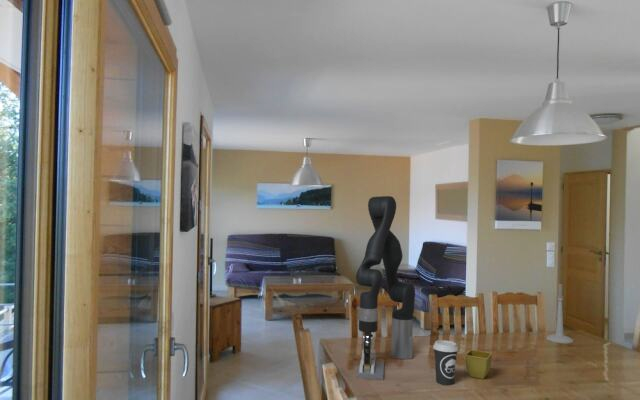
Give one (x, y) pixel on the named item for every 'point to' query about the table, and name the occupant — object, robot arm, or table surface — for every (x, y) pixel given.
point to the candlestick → (559, 322)
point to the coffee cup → (445, 361)
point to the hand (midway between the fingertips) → (367, 361)
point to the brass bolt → (367, 366)
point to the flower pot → (478, 363)
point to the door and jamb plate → (375, 368)
